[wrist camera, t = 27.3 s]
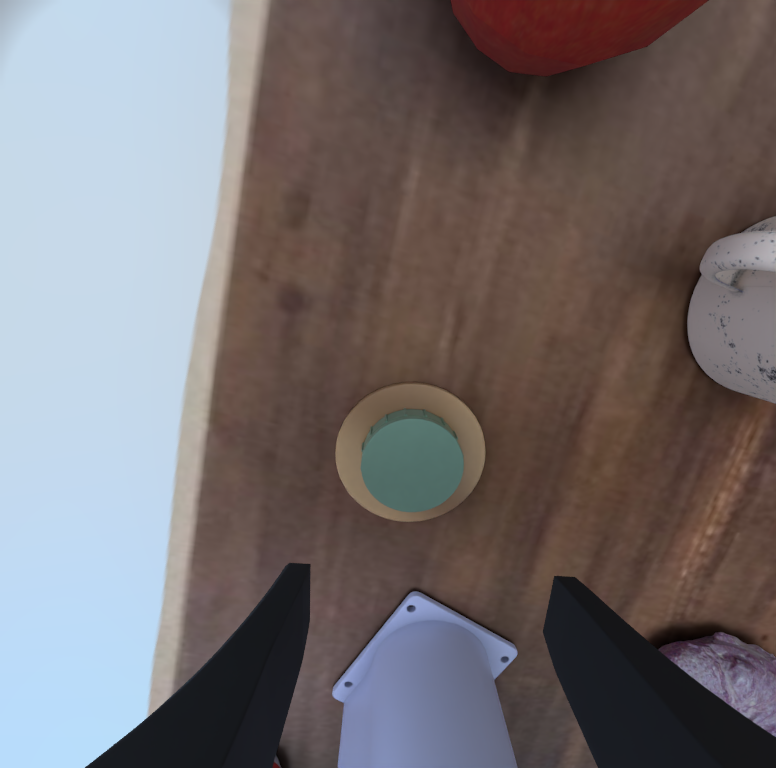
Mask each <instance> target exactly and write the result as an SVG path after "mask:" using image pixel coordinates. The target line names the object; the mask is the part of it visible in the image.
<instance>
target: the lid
mask: <svg viewBox="0 0 776 768" xmlns="http://www.w3.org/2000/svg"><path fill="white" fill-rule="evenodd" d="M457 440H458V437H457V435H456V433H455V431H452V429H451V428H450V427H449V425H448V424H447V423H446V422H445V421H444V419H443V418H442V417H441V418H440V417H438V416H436V415H434V414H432V413H430V412H427V411H426V409H423V410H418V409H406V408H404V410H400V411H396V412H393V413H391V414H388V415H387V414H385V417H383V418H382V419H380V420H379V421H378V422H377V423H376V424H375V425H374V426H373V427H372V426H371V427H370V431H369V433H368V435H367V437H366V439H365V442H363V443H362V449H361V452H362V459H361V467H360V469H361V472H362V477H363V480H364V483H365V485H366V487H367V489H368V490H369V492H370V493H371V494H372V495H373V497H374V498H376V499H377V500H378V501H379V502H380V503H382V504H383V505H385V506H387V507H389V508H392V509H394V510H398V511H402V512H421V511H425V510H429V509H432V508H434V507H436V506H438V505H440V504H442V503H443V502H445V501H446V500H447V499H448V498H449V497H450V496H451V495H452V494H453V493H454V492H455V490H456V489H457V487H458V485H459V483H460V481H461V478H462V475H463V470H464V459H463V457H464V455H463V453H462V450H461V448H460V445H459V443H458V441H457Z"/></svg>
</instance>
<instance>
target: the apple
mask: <svg viewBox="0 0 776 768" xmlns="http://www.w3.org/2000/svg"><path fill="white" fill-rule="evenodd" d="M707 1H708V0H451V5H452V9H453V13H454V15H455V16H456V18H457V19H458V21H459V22H460V24H461V25H462V27H463V28H464V30H465V31H466V33H467V34H468V36H469V37H470V39H471V40H472V42H473V43H474V45H475V46H476V48H477V49H478V50H480V51H481V52H482V53H484V54H485V55H486V56H488V57H489V58H491V59H492V60H493V61H495V62H496V63H497V64H499V65H500V66H502V67H503V68H504V69H506V70H507V71H508V72H513V73H521V74H529V75H537V76H545V77H547V76H550V75H554V74H558V73H561V72H565V71H568V70H572V69H575V68H579V67H582V66H586V65H589V64H592V63H595V62H599V61H602V60H605V59H608V58H612V57H615V56H618V55H621V54H624V53H628V52H631V51H634V50H637V49H641V48H644V47H647V46H648V45H650V44H651V43H652V42H654V41H655V40H656V39H658V38H659V37H660V36H662V35H663V34H664V33H666V32H667V31H668V30H670V29H671V28H672V27H674V26H675V25H676V24H678V23H679V22H680V21H682V20H683V19H684V18H686V17H687V16H688V15H690V14H691V13H692V12H694V11H695V10H696V9H698V8H699V7H700V6H702V5H703V4H704V3H706V2H707Z"/></svg>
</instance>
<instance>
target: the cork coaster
mask: <svg viewBox="0 0 776 768" xmlns="http://www.w3.org/2000/svg"><path fill="white" fill-rule="evenodd" d="M404 408H406V409H418V410H423V409H426V411H427V412H430V413H432V414H434V415H436V416H438V417H440V418H441V417H442V418H443V419H444V421H445V422H446V423H447V424H448V425H449V427H450V428H451V429H452V431H455V433H456V435H457V437H458V440H457V441H458V443H459V445H460V448H461V450H462V453H463V455H464V457H463V459H464V470H463V475H462V478H461V481H460V483H459V485H458V487H457V489H456V490H455V492H454V493H453V494H452V495H451V496H450V497H449V498H448V499H447V500H446V501H445V502H443V503H442V504H440V505H438V506H436V507H434V508H432V509H429V510H425V511H421V512H402V511H398V510H394V509H392V508H389V507H387V506H385V505H383V504H382V503H380V502H379V501H378V500H377V499H376V498H374V497H373V495H372V494H371V493H370V492H369V490H368V489H367V487H366V485H365V483H364V480H363V477H362V472H361V469H360V467H361V459H362V452H361V449H362V443H363V442H365V439H366V437H367V435H368V433H369V431H370V427H371V426H372V427H373V426H374V425H375V424H376V423H377V422H378V421H379V420H380V419H382V418H383V417H385V414H387V415H388V414H391V413H393V412H396V411H400V410H404ZM485 452H486V450H485V440H484V436H483V432H482V429H481V427H480V424H479V423H478V421H477V419H476V417H475V415H474V414H473V413H472V411H471V410H470V409H469V407H468V406H467V405H466V404H465V403H464V402H463V401H462V400H460V399H459V398H458V397H456V396H455V395H454V394H452V393H450V392H449V391H447V390H445V389H442V388H440V387H437V386H435V385H431V384H427V383H419V382H403V383H396V384H392V385H388V386H385V387H382V388H380V389H378V390H375V391H374V392H372V393H370V394H368V395H367V396H366V397H364V398H363V399H362V400H360V401H359V402H358V403H357V404H356V405H355V406H354V407H353V408H352V410H351V411H350V412H349V413H348V415H347V416H346V418H345V420H344V422H343V423H342V426H341V428H340V431H339V434H338V438H337V442H336V450H335V456H336V465H337V470H338V473H339V476H340V479H341V481H342V483H343V485H344V487H345V488H346V490H347V491H348V492H349V494H350V495H351V496H352V497H353V498H354V499H355V501H357V502H358V503H359V504H360V505H361V506H362V507H364V508H365V509H367V510H368V511H370V512H372V513H374V514H376V515H378V516H381V517H383V518H386V519H390V520H395V521H403V522H416V521H424V520H428V519H432V518H435V517H438V516H441V515H443V514H445V513H447V512H449V511H451V510H452V509H454V508H455V507H457V506H458V505H459V504H460V503H461V502H463V501H464V500H465V499H466V498H467V497H468V496H469V494H470V493H471V492H472V490H473V489H474V488H475V486H476V484H477V483H478V481H479V479H480V476H481V474H482V471H483V467H484V462H485Z"/></svg>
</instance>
